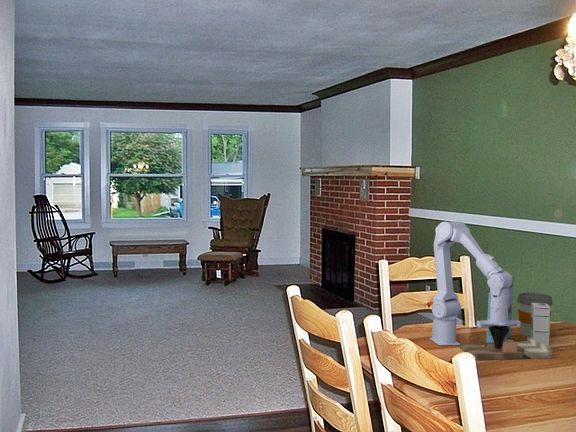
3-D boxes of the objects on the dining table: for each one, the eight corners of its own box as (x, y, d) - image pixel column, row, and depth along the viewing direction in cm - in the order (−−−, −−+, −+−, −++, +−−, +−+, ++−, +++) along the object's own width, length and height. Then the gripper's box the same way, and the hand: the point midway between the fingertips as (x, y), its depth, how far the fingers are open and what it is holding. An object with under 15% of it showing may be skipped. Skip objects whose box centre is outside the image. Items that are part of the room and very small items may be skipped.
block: (497, 348, 215) (498, 339, 215) (510, 348, 216) (510, 339, 216) (504, 352, 211) (504, 343, 211) (516, 351, 212) (517, 342, 211)
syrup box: (549, 346, 227) (551, 306, 226) (532, 345, 228) (533, 305, 227) (546, 342, 232) (547, 303, 231) (529, 341, 233) (530, 302, 233)
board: (459, 348, 222) (460, 338, 221) (529, 347, 225) (529, 337, 225) (477, 360, 208) (477, 349, 208) (551, 358, 211) (551, 348, 211)
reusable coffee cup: (550, 332, 248) (551, 294, 247) (552, 340, 236) (553, 300, 235) (515, 329, 252) (517, 291, 251) (516, 336, 240) (517, 297, 239)
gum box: (498, 334, 243) (500, 275, 241) (511, 336, 240) (514, 276, 239) (485, 345, 226) (487, 282, 225) (500, 348, 224) (502, 283, 222)
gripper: (483, 310, 207) (482, 351, 208) (525, 310, 209) (524, 350, 210) (474, 306, 214) (473, 346, 215) (515, 305, 216) (513, 345, 217)
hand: (497, 348), depth 213 cm, fingers closed
